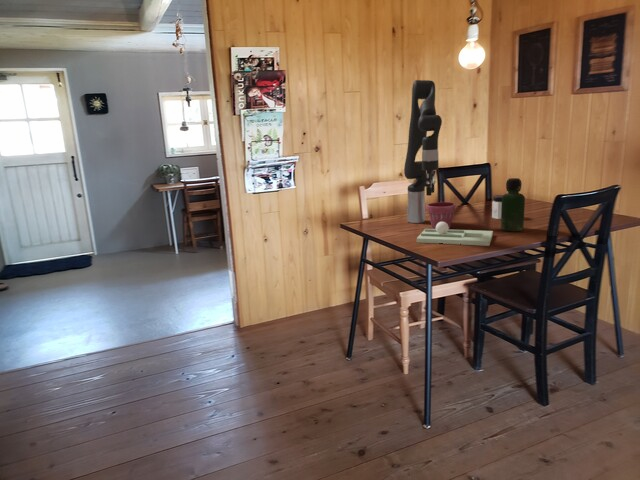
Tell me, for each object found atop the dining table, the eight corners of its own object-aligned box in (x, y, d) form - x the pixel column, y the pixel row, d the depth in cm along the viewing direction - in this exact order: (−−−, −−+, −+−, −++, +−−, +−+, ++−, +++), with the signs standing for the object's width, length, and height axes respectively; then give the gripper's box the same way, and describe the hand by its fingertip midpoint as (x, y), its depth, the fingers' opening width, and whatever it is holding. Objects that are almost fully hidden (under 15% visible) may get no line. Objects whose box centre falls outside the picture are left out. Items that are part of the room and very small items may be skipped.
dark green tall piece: (500, 231, 230) (502, 180, 224) (500, 227, 239) (502, 177, 233) (523, 232, 226) (526, 180, 220) (523, 227, 235) (525, 177, 229)
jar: (488, 217, 263) (489, 196, 260) (500, 215, 266) (500, 194, 263) (500, 219, 255) (501, 198, 252) (512, 218, 258) (513, 196, 255)
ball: (434, 235, 222) (434, 222, 221) (436, 232, 228) (436, 220, 226) (447, 235, 220) (447, 223, 219) (449, 232, 225) (449, 220, 224)
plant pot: (421, 228, 247) (421, 203, 244) (443, 224, 253) (443, 200, 250) (438, 233, 235) (438, 207, 232) (461, 229, 240) (461, 204, 237)
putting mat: (416, 242, 220) (416, 236, 219) (425, 232, 237) (425, 226, 237) (489, 245, 207) (489, 239, 206) (492, 235, 224) (492, 228, 224)
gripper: (424, 158, 227) (425, 191, 231) (419, 161, 215) (419, 196, 218) (440, 158, 224) (440, 191, 228) (435, 160, 212) (436, 196, 215)
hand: (430, 194), depth 223 cm, fingers open, 8 cm apart
